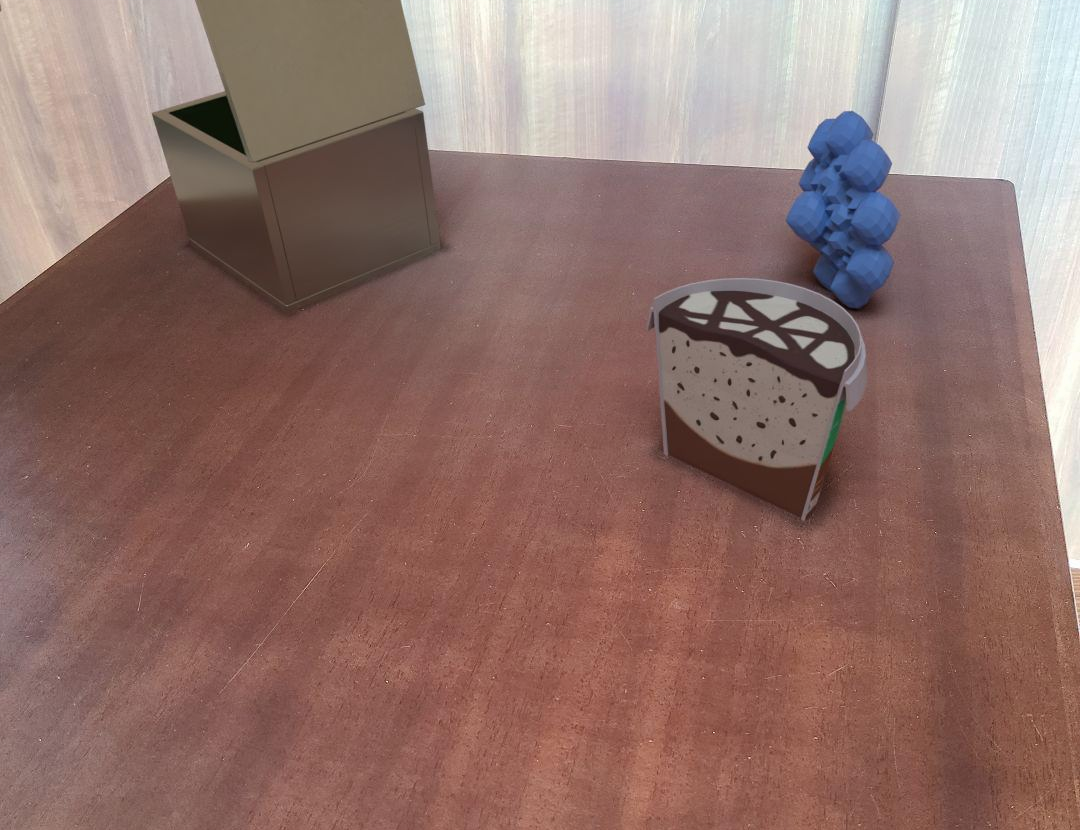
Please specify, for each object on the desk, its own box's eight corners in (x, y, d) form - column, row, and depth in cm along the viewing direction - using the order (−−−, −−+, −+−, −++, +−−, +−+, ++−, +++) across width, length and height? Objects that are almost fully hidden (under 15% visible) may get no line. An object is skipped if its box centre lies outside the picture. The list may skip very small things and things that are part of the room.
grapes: (747, 263, 77) (761, 97, 69) (833, 250, 78) (856, 84, 70) (809, 341, 68) (832, 162, 60) (905, 325, 69) (940, 147, 61)
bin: (192, 248, 84) (150, 112, 77) (336, 195, 91) (310, 65, 83) (288, 316, 75) (252, 169, 68) (442, 252, 81) (423, 111, 74)
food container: (887, 480, 57) (921, 320, 51) (828, 537, 54) (856, 375, 48) (706, 401, 64) (715, 251, 57) (643, 448, 61) (645, 295, 54)
